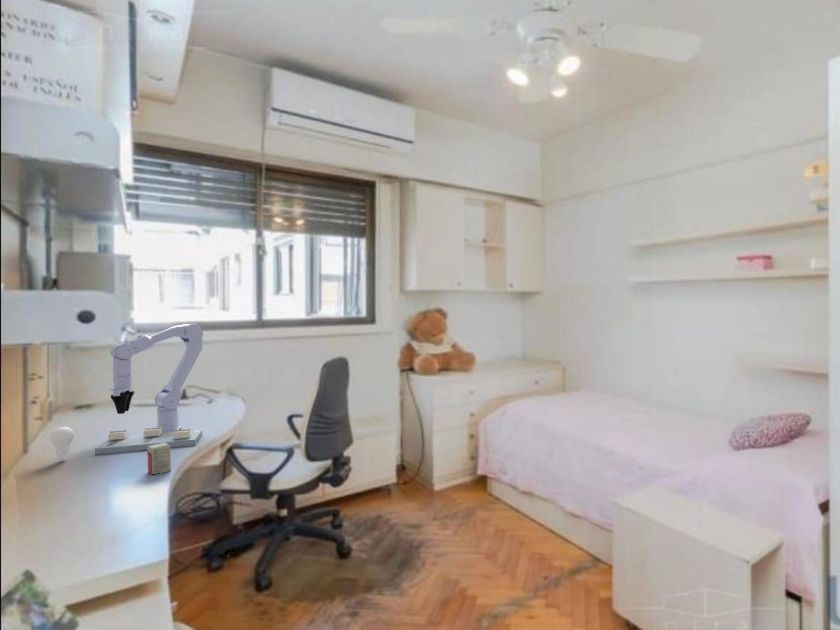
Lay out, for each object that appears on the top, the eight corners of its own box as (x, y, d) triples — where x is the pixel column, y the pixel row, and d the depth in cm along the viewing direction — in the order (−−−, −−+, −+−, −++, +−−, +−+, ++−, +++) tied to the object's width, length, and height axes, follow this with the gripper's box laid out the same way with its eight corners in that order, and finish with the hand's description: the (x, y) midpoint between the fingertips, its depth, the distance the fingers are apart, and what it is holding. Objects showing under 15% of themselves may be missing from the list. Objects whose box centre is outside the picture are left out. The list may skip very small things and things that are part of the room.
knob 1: (112, 437, 168) (112, 430, 168) (128, 436, 169) (128, 429, 169) (108, 440, 164) (108, 433, 164) (124, 438, 165) (124, 431, 165)
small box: (166, 468, 139) (165, 441, 139) (171, 471, 136) (170, 444, 136) (147, 472, 136) (146, 445, 136) (152, 475, 133) (151, 448, 133)
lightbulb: (61, 464, 144) (60, 429, 144) (45, 464, 146) (44, 429, 146) (79, 458, 150) (78, 425, 150) (63, 457, 152) (63, 424, 152)
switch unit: (111, 442, 169) (110, 437, 169) (202, 434, 178) (202, 429, 178) (95, 454, 154) (95, 448, 154) (195, 445, 163) (195, 439, 163)
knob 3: (175, 436, 167) (175, 429, 167) (190, 434, 169) (190, 428, 169) (173, 439, 163) (173, 432, 163) (188, 437, 165) (188, 430, 165)
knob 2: (146, 434, 171) (146, 427, 171) (161, 433, 172) (161, 426, 172) (143, 437, 167) (143, 430, 167) (159, 435, 168) (159, 428, 168)
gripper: (116, 374, 178) (117, 409, 178) (102, 379, 164) (103, 417, 164) (137, 373, 180) (138, 408, 180) (125, 377, 166) (126, 415, 166)
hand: (123, 412), depth 172 cm, fingers open, 4 cm apart
